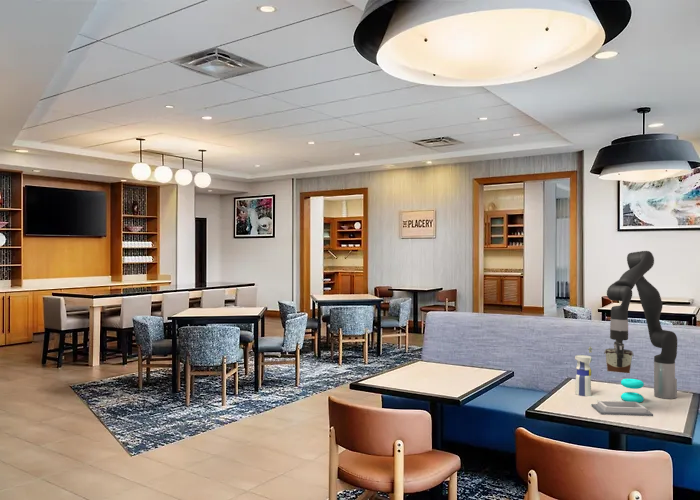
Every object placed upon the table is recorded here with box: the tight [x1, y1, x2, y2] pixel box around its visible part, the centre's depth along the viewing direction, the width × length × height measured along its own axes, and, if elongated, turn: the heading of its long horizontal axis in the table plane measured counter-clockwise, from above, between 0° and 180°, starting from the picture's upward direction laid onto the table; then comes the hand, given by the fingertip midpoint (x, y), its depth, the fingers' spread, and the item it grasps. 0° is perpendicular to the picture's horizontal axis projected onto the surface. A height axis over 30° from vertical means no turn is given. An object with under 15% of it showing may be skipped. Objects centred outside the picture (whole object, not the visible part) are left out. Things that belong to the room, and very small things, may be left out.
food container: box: [603, 347, 635, 374], centre depth 263 cm, size 12×6×10 cm, turn 66°
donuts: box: [620, 378, 645, 404], centre depth 278 cm, size 10×10×10 cm
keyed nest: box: [590, 400, 654, 417], centre depth 259 cm, size 22×14×3 cm, turn 83°
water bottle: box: [574, 346, 593, 397], centre depth 290 cm, size 8×9×25 cm
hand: (618, 365), depth 262 cm, fingers closed on food container, 5 cm apart
